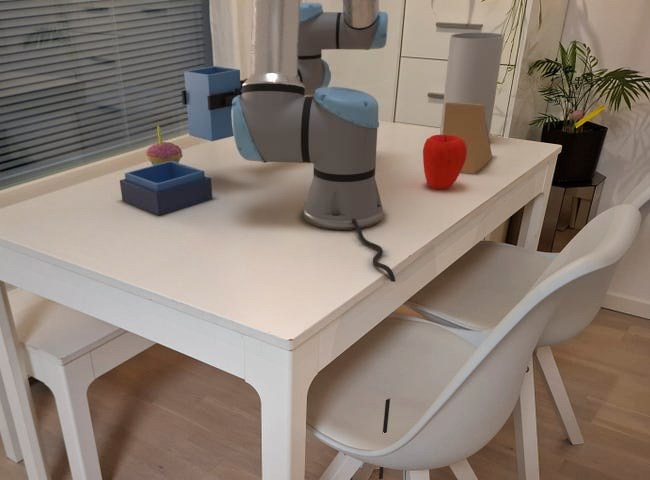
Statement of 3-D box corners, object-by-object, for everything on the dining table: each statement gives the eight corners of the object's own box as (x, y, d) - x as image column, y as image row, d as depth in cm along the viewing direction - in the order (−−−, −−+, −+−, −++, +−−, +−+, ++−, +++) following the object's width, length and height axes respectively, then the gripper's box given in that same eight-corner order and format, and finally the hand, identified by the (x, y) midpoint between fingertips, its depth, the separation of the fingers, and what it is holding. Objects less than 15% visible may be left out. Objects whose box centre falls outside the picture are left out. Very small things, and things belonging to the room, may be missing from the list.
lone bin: (219, 128, 151) (215, 66, 145) (242, 133, 146) (240, 69, 139) (189, 135, 147) (183, 71, 140) (212, 141, 142) (208, 75, 135)
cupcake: (177, 179, 156) (172, 125, 150) (143, 178, 158) (136, 125, 152) (188, 168, 164) (183, 117, 157) (154, 167, 165) (149, 116, 159)
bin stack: (174, 185, 152) (172, 159, 149) (212, 198, 144) (210, 170, 141) (122, 200, 145) (118, 173, 141) (159, 215, 136) (155, 186, 133)
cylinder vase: (491, 147, 171) (508, 38, 157) (440, 146, 173) (453, 39, 159) (485, 134, 181) (500, 32, 168) (437, 134, 183) (448, 32, 170)
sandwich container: (493, 157, 163) (504, 91, 155) (475, 174, 152) (484, 104, 144) (458, 153, 167) (466, 89, 159) (438, 169, 156) (445, 101, 148)
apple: (467, 183, 147) (474, 133, 141) (453, 195, 141) (459, 142, 135) (428, 178, 151) (433, 128, 145) (413, 189, 145) (418, 137, 139)
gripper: (308, 107, 148) (229, 126, 135) (245, 96, 161) (168, 112, 148) (308, 71, 144) (227, 86, 131) (243, 62, 157) (164, 76, 144)
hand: (195, 100), depth 140 cm, fingers closed on lone bin, 8 cm apart
